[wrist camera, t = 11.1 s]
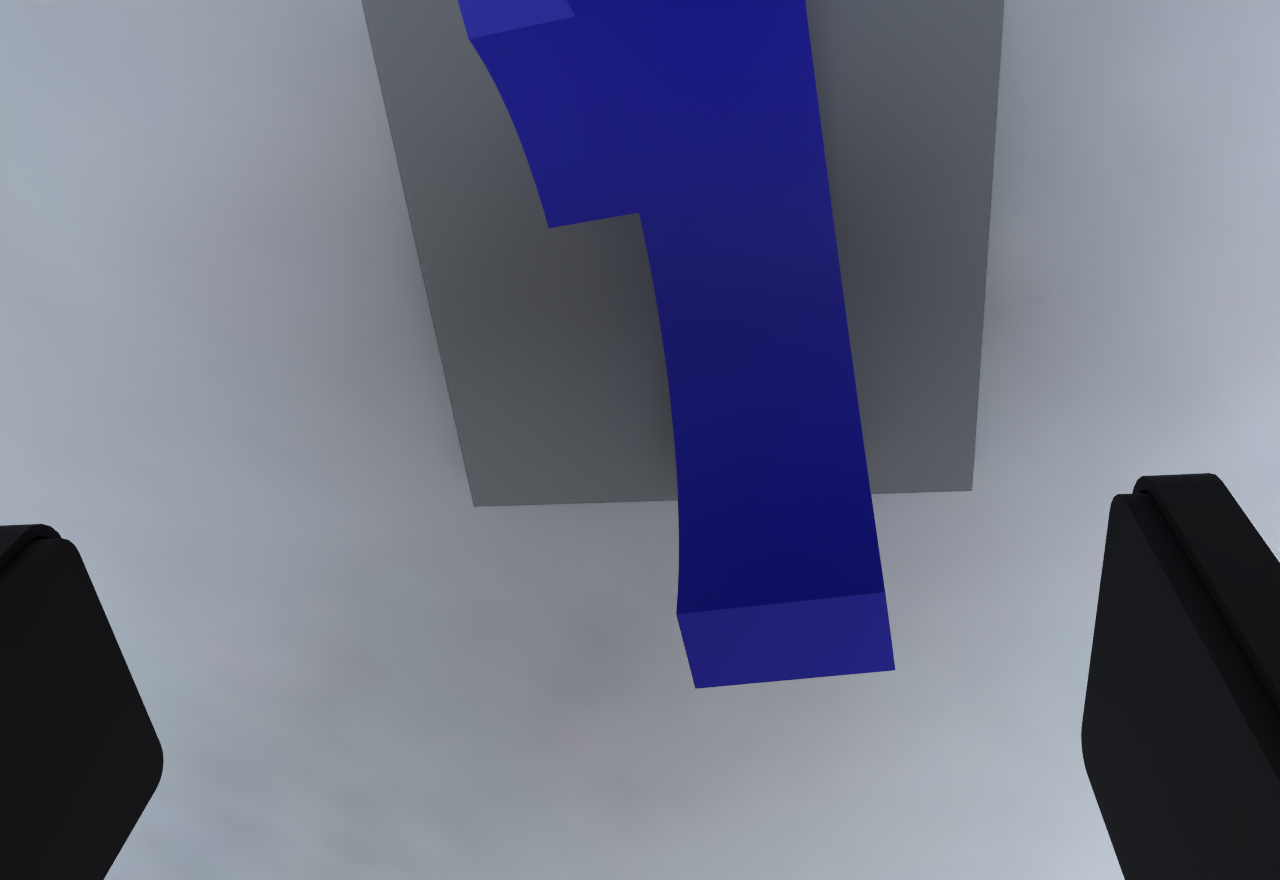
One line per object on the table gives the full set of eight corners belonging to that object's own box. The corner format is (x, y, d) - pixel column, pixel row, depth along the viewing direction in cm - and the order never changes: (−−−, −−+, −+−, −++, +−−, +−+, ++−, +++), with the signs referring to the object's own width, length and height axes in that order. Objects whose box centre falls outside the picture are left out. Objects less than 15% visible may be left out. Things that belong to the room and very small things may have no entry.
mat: (967, 473, 22) (971, 490, 22) (479, 489, 24) (474, 506, 23) (1021, -395, 15) (1030, -399, 14) (309, -301, 16) (294, -302, 16)
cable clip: (460, -194, 16) (328, -160, 11) (767, -271, 15) (772, -272, 10) (636, 479, 22) (600, 697, 17) (863, 450, 22) (895, 670, 17)
